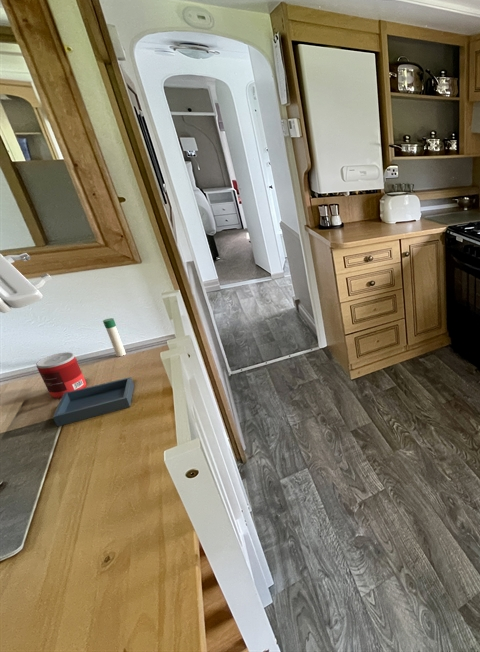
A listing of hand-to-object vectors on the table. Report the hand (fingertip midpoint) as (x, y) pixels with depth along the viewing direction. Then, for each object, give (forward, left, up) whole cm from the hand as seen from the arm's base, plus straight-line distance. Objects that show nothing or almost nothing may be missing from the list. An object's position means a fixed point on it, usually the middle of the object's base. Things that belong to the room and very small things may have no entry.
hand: (39, 265), depth 119 cm
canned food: (+2, -27, -32) cm, 42 cm away
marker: (+12, -8, -32) cm, 36 cm away
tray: (+10, -40, -32) cm, 53 cm away
